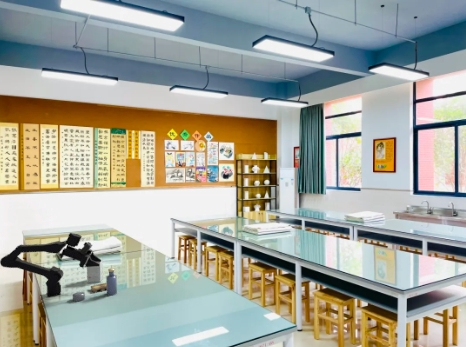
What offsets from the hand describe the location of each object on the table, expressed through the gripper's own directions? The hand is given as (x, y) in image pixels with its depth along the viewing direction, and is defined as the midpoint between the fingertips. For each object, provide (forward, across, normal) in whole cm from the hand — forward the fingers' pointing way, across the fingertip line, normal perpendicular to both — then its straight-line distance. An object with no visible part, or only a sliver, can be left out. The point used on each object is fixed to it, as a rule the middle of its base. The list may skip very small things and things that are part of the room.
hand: (100, 263), depth 203 cm
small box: (+2, +18, +17) cm, 25 cm away
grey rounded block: (-2, -12, +18) cm, 22 cm away
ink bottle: (+13, -8, +11) cm, 19 cm away
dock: (+7, +1, +14) cm, 16 cm away
